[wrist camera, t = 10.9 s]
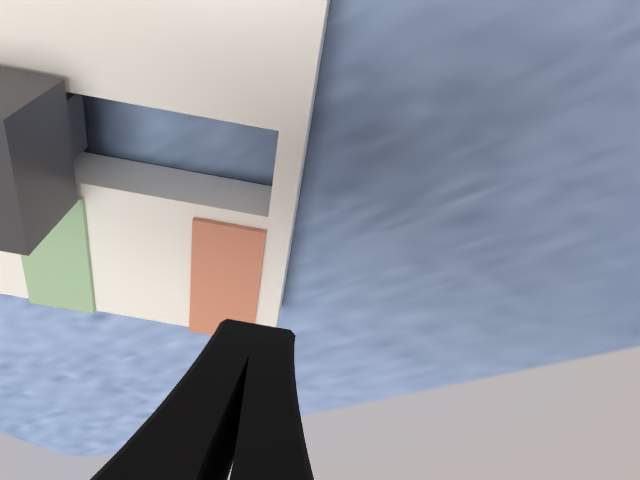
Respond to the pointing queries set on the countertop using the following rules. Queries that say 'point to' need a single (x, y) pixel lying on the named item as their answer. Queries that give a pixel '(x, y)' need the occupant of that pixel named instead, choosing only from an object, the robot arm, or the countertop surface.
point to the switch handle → (36, 156)
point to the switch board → (163, 182)
